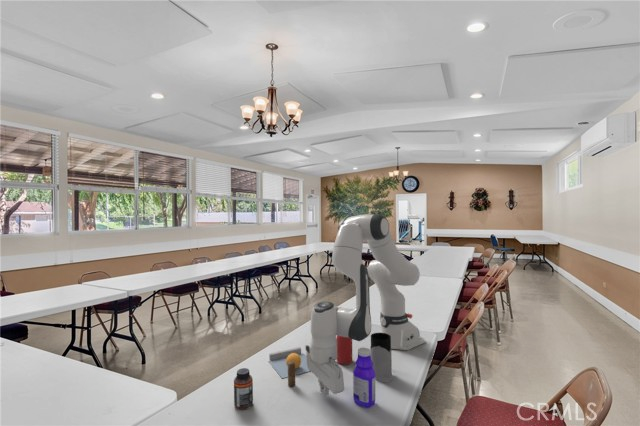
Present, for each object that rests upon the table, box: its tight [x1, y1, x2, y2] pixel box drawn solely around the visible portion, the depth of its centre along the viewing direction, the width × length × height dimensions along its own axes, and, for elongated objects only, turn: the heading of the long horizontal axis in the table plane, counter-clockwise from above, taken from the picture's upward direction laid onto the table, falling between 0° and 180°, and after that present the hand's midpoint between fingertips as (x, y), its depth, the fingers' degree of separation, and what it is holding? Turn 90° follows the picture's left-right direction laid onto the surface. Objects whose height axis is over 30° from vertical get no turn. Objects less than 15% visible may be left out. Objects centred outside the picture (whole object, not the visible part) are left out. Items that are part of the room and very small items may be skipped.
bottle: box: [352, 347, 376, 409], centre depth 108 cm, size 7×6×17 cm
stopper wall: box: [268, 346, 302, 361], centre depth 143 cm, size 14×2×2 cm, turn 117°
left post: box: [287, 361, 296, 388], centre depth 119 cm, size 3×3×8 cm
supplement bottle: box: [233, 367, 254, 411], centre depth 107 cm, size 6×6×11 cm
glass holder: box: [369, 332, 394, 383], centre depth 128 cm, size 9×14×15 cm, turn 158°
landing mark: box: [267, 352, 311, 380], centre depth 135 cm, size 16×16×1 cm
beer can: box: [336, 335, 353, 365], centre depth 138 cm, size 7×7×12 cm
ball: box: [286, 353, 301, 369], centre depth 132 cm, size 6×6×6 cm
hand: (324, 393), depth 111 cm, fingers closed
